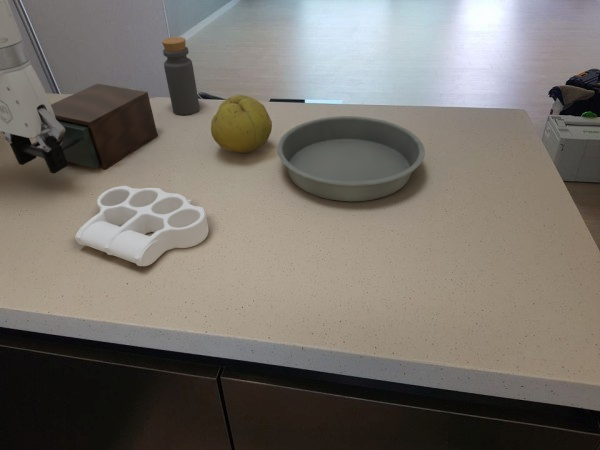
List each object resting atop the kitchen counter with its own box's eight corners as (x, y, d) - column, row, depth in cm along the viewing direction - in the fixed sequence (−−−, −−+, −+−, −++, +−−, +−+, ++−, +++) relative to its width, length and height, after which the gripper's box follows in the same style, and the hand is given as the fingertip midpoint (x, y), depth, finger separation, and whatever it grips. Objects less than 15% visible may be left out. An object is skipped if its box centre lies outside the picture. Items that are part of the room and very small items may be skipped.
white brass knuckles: (63, 243, 64) (135, 191, 75) (163, 280, 58) (227, 218, 68) (54, 224, 62) (130, 173, 73) (157, 260, 56) (224, 199, 66)
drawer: (69, 184, 75) (54, 145, 71) (21, 171, 79) (4, 133, 75) (146, 136, 89) (137, 100, 85) (102, 127, 93) (91, 92, 89)
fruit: (283, 140, 88) (280, 90, 82) (257, 169, 80) (252, 116, 73) (232, 132, 92) (226, 84, 86) (202, 159, 83) (193, 107, 77)
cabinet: (105, 170, 81) (89, 122, 75) (54, 157, 85) (35, 111, 80) (158, 136, 91) (147, 91, 86) (110, 126, 96) (97, 83, 90)
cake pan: (449, 192, 72) (454, 167, 70) (301, 221, 67) (300, 195, 64) (384, 128, 91) (386, 107, 89) (264, 147, 86) (262, 125, 83)
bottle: (168, 114, 100) (153, 43, 91) (180, 104, 104) (167, 35, 95) (193, 116, 99) (180, 44, 89) (204, 106, 103) (193, 36, 94)
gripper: (-65, 57, 66) (-11, 165, 77) (17, 72, 60) (63, 187, 71) (-18, 44, 71) (26, 146, 82) (62, 55, 65) (99, 164, 76)
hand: (43, 164), depth 76 cm, fingers closed on drawer, 6 cm apart
